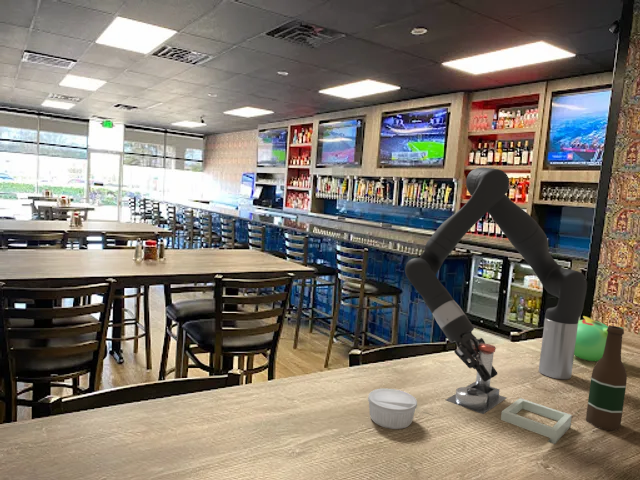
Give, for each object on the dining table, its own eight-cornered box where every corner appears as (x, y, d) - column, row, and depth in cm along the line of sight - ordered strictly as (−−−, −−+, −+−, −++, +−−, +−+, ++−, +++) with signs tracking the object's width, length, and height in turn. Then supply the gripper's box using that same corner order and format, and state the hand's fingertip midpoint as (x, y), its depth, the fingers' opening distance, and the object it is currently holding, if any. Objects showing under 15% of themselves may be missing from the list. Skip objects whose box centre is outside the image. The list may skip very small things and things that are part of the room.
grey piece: (470, 389, 133) (471, 374, 132) (506, 401, 126) (508, 385, 126) (444, 403, 122) (446, 387, 121) (482, 418, 115) (484, 401, 115)
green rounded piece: (567, 348, 181) (572, 310, 180) (619, 360, 171) (625, 319, 170) (558, 359, 167) (563, 317, 165) (615, 372, 157) (621, 328, 156)
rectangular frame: (518, 409, 122) (520, 397, 122) (570, 427, 114) (571, 415, 114) (500, 423, 113) (501, 411, 113) (554, 444, 105) (556, 430, 105)
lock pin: (477, 391, 129) (482, 342, 128) (492, 396, 126) (498, 346, 125) (470, 395, 126) (475, 345, 125) (485, 400, 123) (491, 349, 122)
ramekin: (384, 435, 103) (386, 412, 103) (356, 413, 113) (358, 391, 112) (425, 427, 108) (427, 404, 108) (395, 406, 118) (397, 385, 118)
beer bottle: (627, 433, 113) (641, 333, 111) (590, 428, 114) (604, 329, 112) (613, 419, 120) (626, 325, 118) (580, 414, 122) (592, 321, 120)
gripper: (450, 317, 124) (491, 377, 117) (474, 310, 134) (513, 365, 128) (430, 332, 128) (468, 391, 121) (454, 324, 138) (491, 378, 132)
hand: (491, 377), depth 124 cm, fingers closed on lock pin, 3 cm apart
